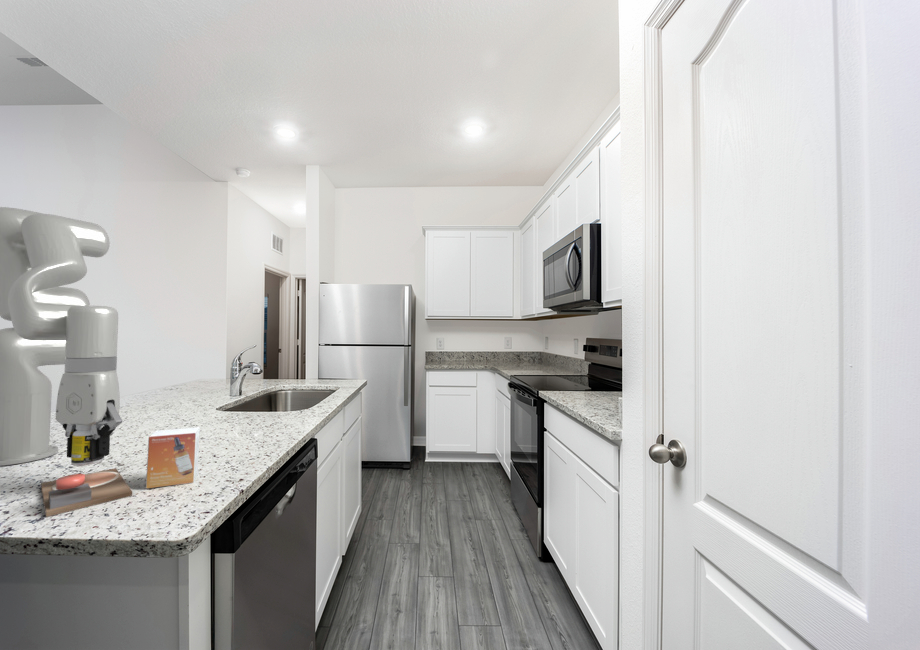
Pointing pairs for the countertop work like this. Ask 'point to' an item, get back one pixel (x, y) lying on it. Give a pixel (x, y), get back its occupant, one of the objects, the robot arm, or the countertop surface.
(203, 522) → the countertop surface
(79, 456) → the supplement bottle
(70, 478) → the button
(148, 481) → the small box
